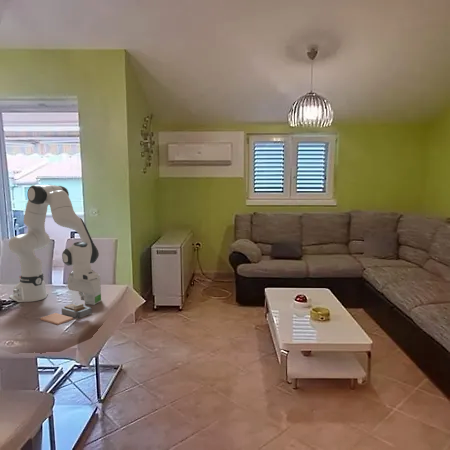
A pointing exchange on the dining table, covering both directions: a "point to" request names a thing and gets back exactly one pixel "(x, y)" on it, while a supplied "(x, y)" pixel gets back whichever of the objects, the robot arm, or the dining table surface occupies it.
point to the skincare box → (94, 296)
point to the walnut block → (75, 307)
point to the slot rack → (77, 312)
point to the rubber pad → (56, 318)
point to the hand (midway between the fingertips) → (84, 300)
